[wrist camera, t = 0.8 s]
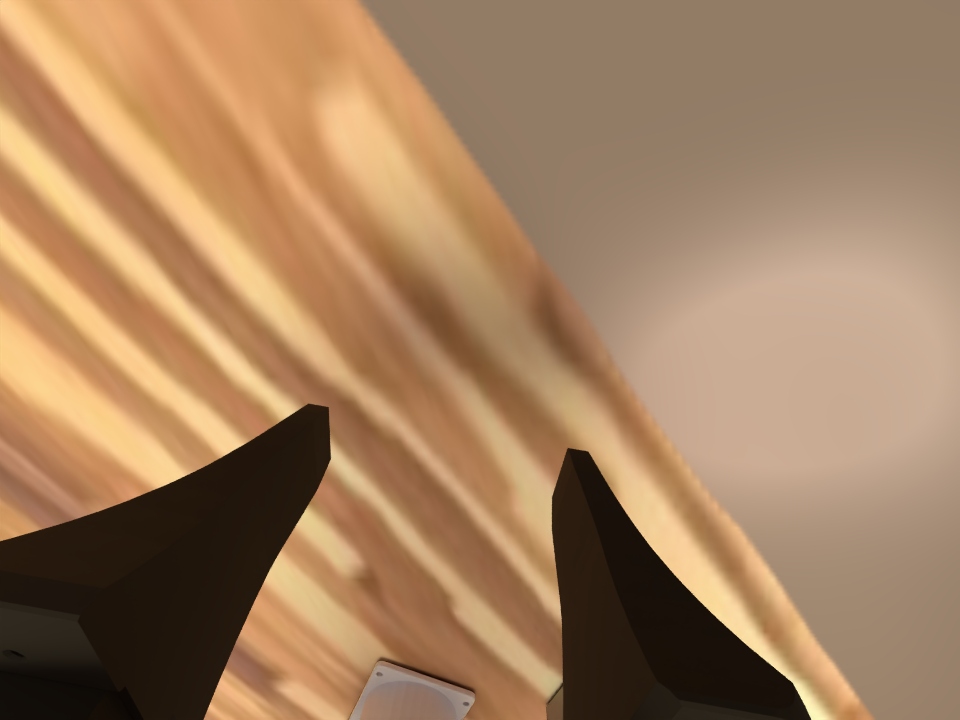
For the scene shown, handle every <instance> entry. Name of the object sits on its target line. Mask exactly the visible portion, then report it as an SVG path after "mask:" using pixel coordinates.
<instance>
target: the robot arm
mask: <svg viewBox="0 0 960 720" xmlns="http://www.w3.org/2000/svg"><path fill="white" fill-rule="evenodd" d="M330 460H331V450H330V428H329V407H325V406H319V405H313V404H307V405H306V406H304V407H303V408H301V409H299V410H298V411H296V412H295V413H293V414H292V415H290V416H289V417H287V418H286V419H284V420H283V421H281V422H279V423H278V424H276V425H275V426H273V427H272V428H270V429H269V430H267V431H265V432H264V433H262V434H261V435H259V436H257V437H256V438H254V439H253V440H251V441H249V442H248V443H246V444H244V445H243V446H241V447H239V448H237V449H236V450H234V451H232V452H230V453H229V454H227V455H225V456H223V457H222V458H220V459H218V460H216V461H214V462H213V463H211V464H209V465H207V466H205V467H203V468H201V469H199V470H197V471H195V472H193V473H191V474H189V475H187V476H185V477H182V478H180V479H178V480H176V481H174V482H172V483H170V484H167V485H165V486H163V487H160V488H158V489H155V490H153V491H150V492H148V493H146V494H143V495H141V496H138V497H136V498H133V499H131V500H129V501H126V502H123V503H121V504H118V505H115V506H113V507H110V508H107V509H104V510H102V511H99V512H96V513H93V514H90V515H87V516H84V517H81V518H78V519H75V520H72V521H69V522H66V523H62V524H59V525H56V526H52V527H49V528H45V529H42V530H39V531H35V532H32V533H28V534H25V535H21V536H18V537H14V538H11V539H7V540H3V541H0V720H204V717H205V715H206V712H207V710H208V707H209V705H210V702H211V700H212V697H213V695H214V692H215V690H216V687H217V685H218V682H219V680H220V678H221V675H222V673H223V671H224V669H225V666H226V664H227V662H228V659H229V657H230V655H231V652H232V650H233V648H234V645H235V643H236V641H237V638H238V636H239V634H240V632H241V630H242V627H243V625H244V623H245V621H246V619H247V617H248V614H249V612H250V610H251V608H252V606H253V603H254V601H255V599H256V597H257V595H258V593H259V591H260V589H261V587H262V585H263V583H264V581H265V578H266V576H267V574H268V572H269V570H270V568H271V567H272V565H273V563H274V561H275V559H276V558H277V556H278V554H279V552H280V551H281V549H282V547H283V546H284V544H285V542H286V541H287V539H288V538H289V536H290V534H291V533H292V531H293V529H294V528H295V526H296V524H297V523H298V521H299V519H300V518H301V516H302V514H303V513H304V511H305V509H306V508H307V506H308V504H309V503H310V501H311V499H312V498H313V496H314V494H315V493H316V491H317V489H318V487H319V485H320V483H321V480H322V478H323V476H324V474H325V471H326V469H327V467H328V464H329V462H330ZM552 534H553V543H554V552H555V561H556V570H557V578H558V587H559V595H560V604H561V616H562V648H563V720H811V718H810V716H809V714H808V711H807V709H806V707H805V705H804V703H803V701H802V699H801V698H800V696H799V694H798V692H797V690H796V688H795V686H794V685H793V683H792V682H791V681H790V680H788V679H787V678H786V677H785V676H784V675H782V674H781V673H780V672H779V671H777V670H776V669H775V668H774V667H773V666H771V665H770V664H769V663H768V662H767V661H765V660H764V659H763V658H762V657H760V656H759V655H758V654H757V653H756V652H754V651H753V650H752V649H751V648H749V647H748V646H747V645H746V644H745V643H744V642H743V641H741V640H740V639H739V638H738V637H737V636H736V635H735V634H734V633H733V632H732V631H730V630H729V629H728V628H727V627H726V626H725V625H724V624H723V623H722V622H721V621H719V620H718V619H717V618H716V617H715V616H714V615H713V614H712V613H711V612H710V611H709V610H708V609H707V608H706V607H705V606H704V605H703V604H702V603H701V602H700V601H699V600H698V599H697V598H696V597H695V596H694V595H693V594H692V593H691V592H690V591H689V590H688V589H687V588H686V587H685V586H684V585H683V584H682V582H681V581H680V580H679V579H678V578H677V577H676V576H675V575H674V574H673V573H672V571H671V570H670V569H669V568H668V567H667V566H666V564H665V563H664V562H663V561H662V560H661V559H660V557H659V556H658V555H657V554H656V553H655V552H654V550H653V549H652V548H651V547H650V545H649V544H648V543H647V541H646V540H645V539H644V537H643V536H642V535H641V533H640V532H639V531H638V529H637V528H636V527H635V525H634V524H633V522H632V521H631V519H630V518H629V517H628V515H627V514H626V512H625V511H624V509H623V508H622V506H621V504H620V503H619V501H618V500H617V498H616V497H615V495H614V494H613V492H612V490H611V489H610V487H609V486H608V484H607V482H606V481H605V479H604V477H603V476H602V474H601V472H600V470H599V469H598V467H597V465H596V464H595V462H594V460H593V458H592V457H591V455H590V454H589V452H588V451H582V450H576V449H570V448H568V449H567V452H566V455H565V458H564V461H563V464H562V468H561V471H560V474H559V477H558V480H557V483H556V487H555V490H554V493H553V496H552ZM474 702H475V694H474V693H473V692H472V691H469V690H466V689H463V688H460V687H457V686H454V685H452V684H449V683H446V682H443V681H440V680H437V679H434V678H431V677H428V676H426V675H423V674H420V673H417V672H414V671H411V670H408V669H405V668H402V667H400V666H397V665H394V664H391V663H388V662H385V661H379V662H377V663H376V665H375V667H374V669H373V671H372V673H371V675H370V677H369V679H368V681H367V683H366V685H365V687H364V689H363V691H362V693H361V696H360V698H359V700H358V702H357V704H356V706H355V708H354V710H353V712H352V714H351V716H350V718H349V720H463V718H464V717H465V715H466V714H467V712H468V711H469V709H470V708H471V706H472V705H473V703H474Z"/></svg>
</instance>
